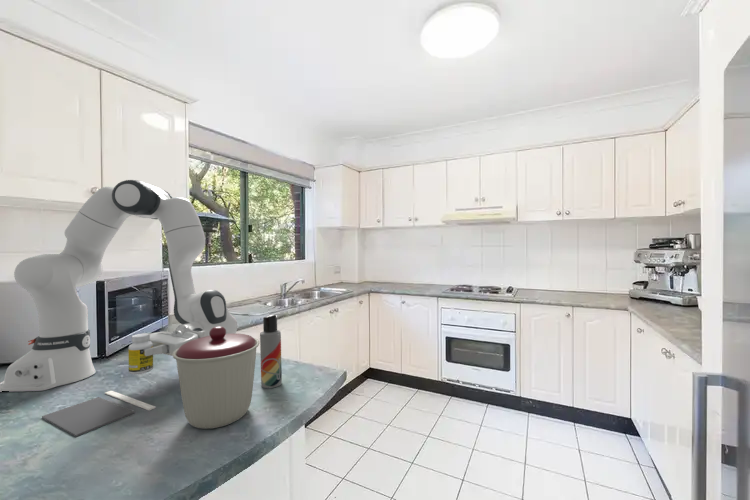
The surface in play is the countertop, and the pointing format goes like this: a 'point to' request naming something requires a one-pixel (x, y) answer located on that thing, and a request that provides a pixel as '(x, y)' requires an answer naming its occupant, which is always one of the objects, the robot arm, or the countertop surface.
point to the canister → (216, 377)
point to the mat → (87, 416)
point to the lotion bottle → (270, 353)
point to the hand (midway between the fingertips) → (137, 351)
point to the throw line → (130, 400)
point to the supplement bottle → (140, 354)
